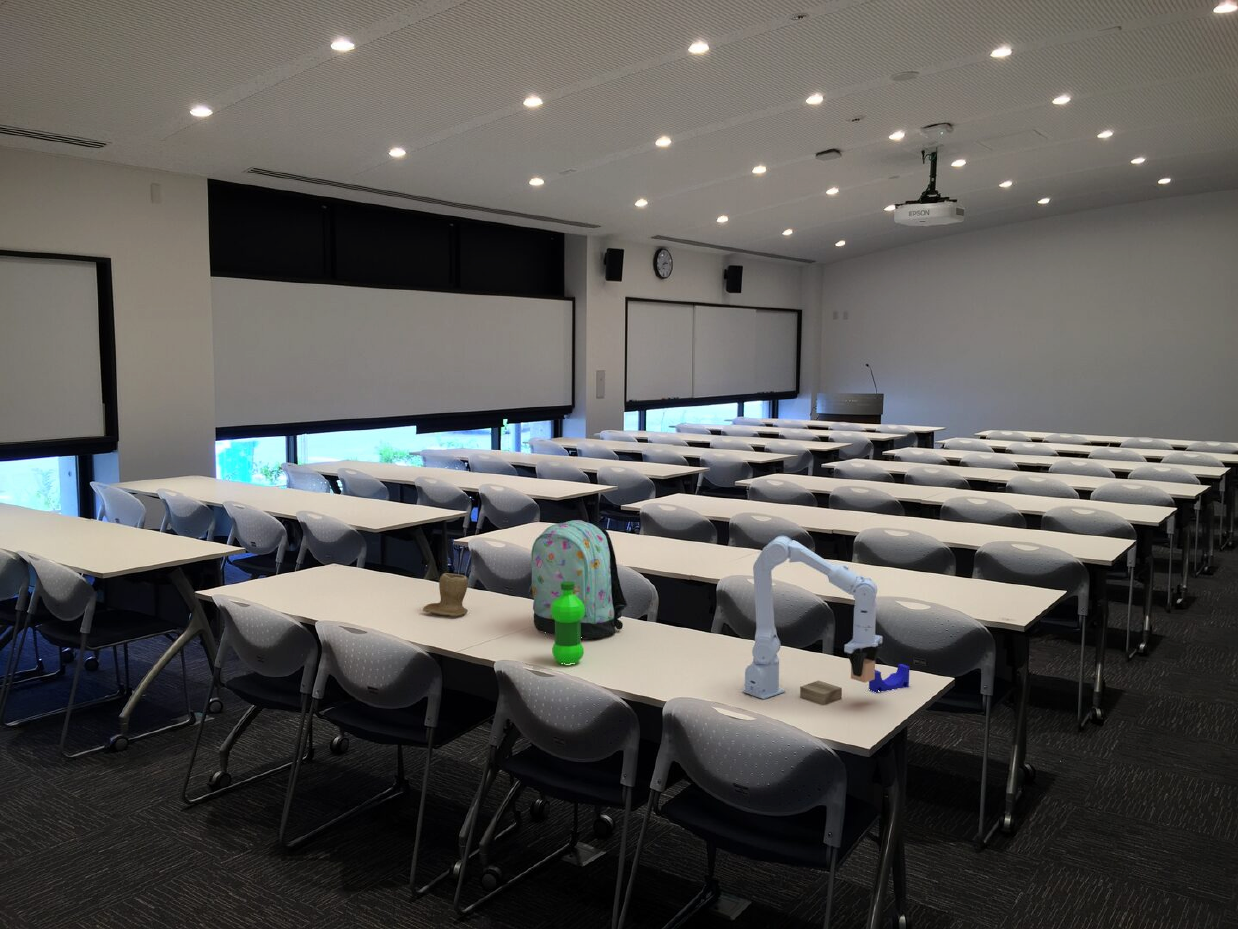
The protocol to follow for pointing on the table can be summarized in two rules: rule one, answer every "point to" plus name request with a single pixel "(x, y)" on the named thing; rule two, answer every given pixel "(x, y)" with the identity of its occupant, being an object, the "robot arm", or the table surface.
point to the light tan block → (866, 671)
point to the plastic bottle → (567, 625)
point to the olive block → (820, 692)
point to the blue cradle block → (891, 680)
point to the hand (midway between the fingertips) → (862, 673)
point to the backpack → (577, 576)
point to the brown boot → (450, 595)
